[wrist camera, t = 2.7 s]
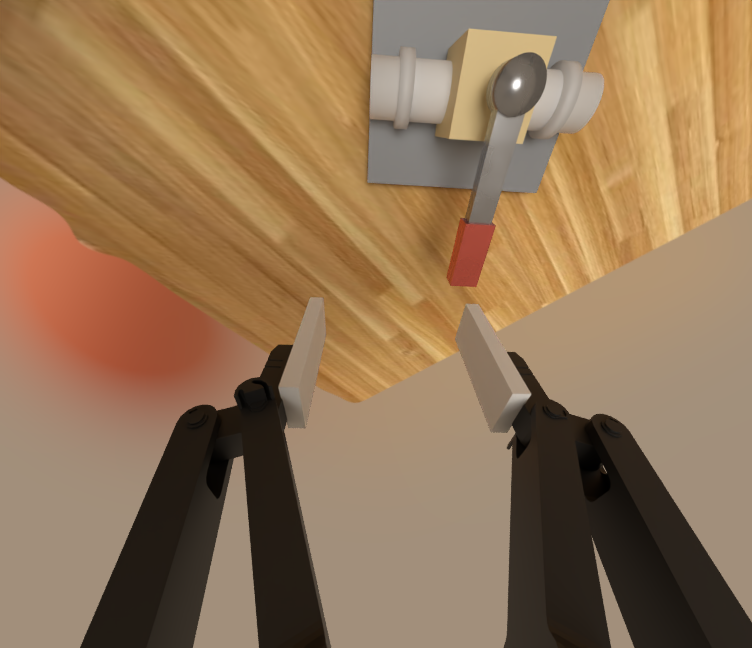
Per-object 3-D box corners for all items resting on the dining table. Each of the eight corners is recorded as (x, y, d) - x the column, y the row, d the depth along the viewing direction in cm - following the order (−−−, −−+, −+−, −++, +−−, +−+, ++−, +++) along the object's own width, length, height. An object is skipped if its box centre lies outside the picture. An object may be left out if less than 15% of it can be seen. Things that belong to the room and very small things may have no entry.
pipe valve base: (367, 179, 32) (366, 199, 24) (375, -31, 23) (376, -123, 14) (528, 189, 33) (582, 212, 25) (600, -9, 24) (728, -84, 15)
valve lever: (494, 56, 18) (505, 50, 17) (539, 60, 18) (555, 54, 17) (443, 276, 28) (447, 285, 27) (473, 278, 28) (479, 287, 27)
